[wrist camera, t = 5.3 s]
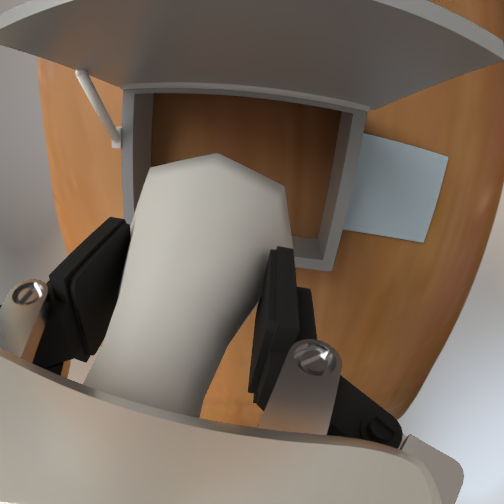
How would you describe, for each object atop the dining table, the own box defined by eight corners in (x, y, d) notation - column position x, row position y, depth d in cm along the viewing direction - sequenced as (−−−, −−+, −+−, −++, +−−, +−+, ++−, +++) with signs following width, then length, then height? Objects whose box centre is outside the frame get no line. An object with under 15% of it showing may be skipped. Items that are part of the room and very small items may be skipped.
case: (144, 76, 22) (119, 74, 18) (355, 95, 22) (372, 96, 18) (142, 226, 29) (122, 249, 25) (325, 249, 29) (332, 277, 25)
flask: (137, 286, 15) (44, 458, 6) (133, 143, 11) (-78, 273, 3) (277, 311, 15) (269, 518, 6) (311, 166, 11) (397, 397, 3)
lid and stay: (124, 44, 18) (-22, 25, 5) (376, 64, 18) (505, 40, 5) (118, 145, 22) (-18, 214, 9) (358, 170, 22) (452, 274, 9)
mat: (361, 132, 23) (362, 133, 23) (446, 156, 23) (448, 157, 23) (341, 227, 28) (341, 229, 27) (422, 240, 28) (423, 242, 27)
